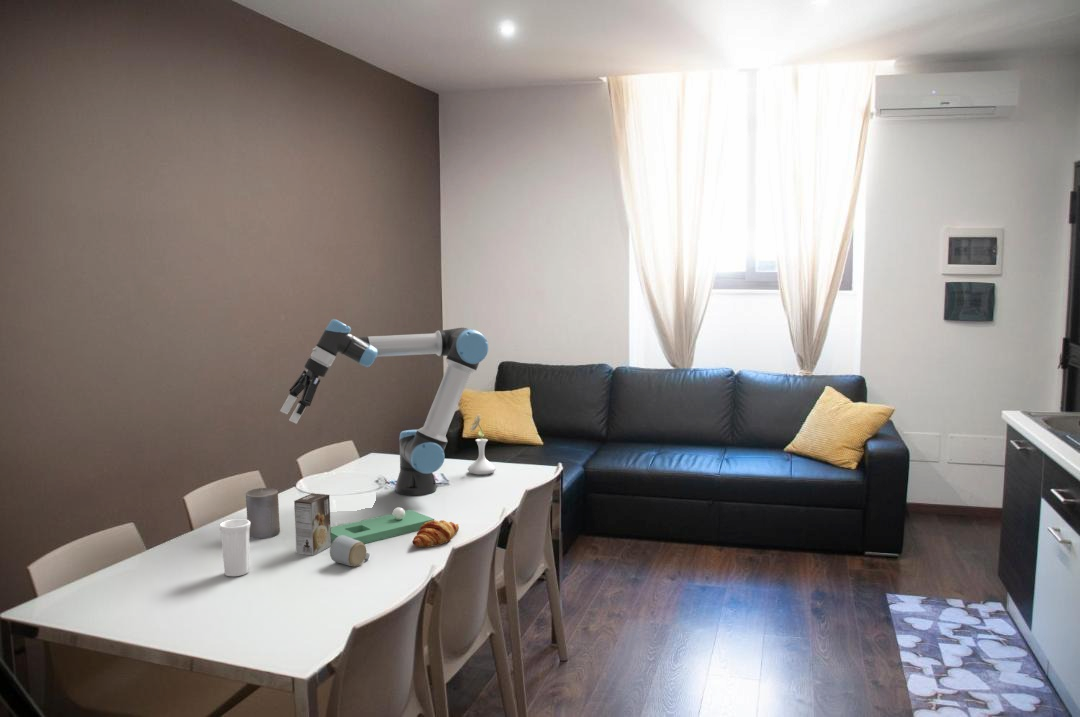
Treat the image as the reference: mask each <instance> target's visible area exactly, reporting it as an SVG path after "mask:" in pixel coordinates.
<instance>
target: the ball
mask: <svg viewBox="0 0 1080 717" xmlns="http://www.w3.org/2000/svg"><path fill="white" fill-rule="evenodd" d="M405 511H406V510H405V509H404V508H402V507H400V506H398V507H395V508H394V509H393V510H392V514H393V517H394V518H395V519H397V520H401V519H403V518H404V516H405Z"/></svg>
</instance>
